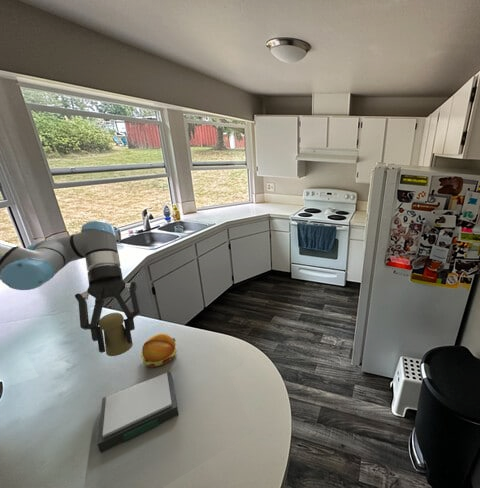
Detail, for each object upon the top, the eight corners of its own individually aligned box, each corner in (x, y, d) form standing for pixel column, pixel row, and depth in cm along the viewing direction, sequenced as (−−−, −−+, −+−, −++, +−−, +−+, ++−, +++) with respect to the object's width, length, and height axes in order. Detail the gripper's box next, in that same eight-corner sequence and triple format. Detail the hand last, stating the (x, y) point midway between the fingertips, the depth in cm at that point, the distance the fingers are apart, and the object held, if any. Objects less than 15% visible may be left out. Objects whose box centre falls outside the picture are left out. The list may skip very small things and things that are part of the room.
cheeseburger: (172, 341, 92) (170, 322, 87) (182, 363, 86) (180, 344, 81) (139, 355, 85) (135, 335, 80) (147, 379, 79) (143, 360, 74)
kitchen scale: (100, 455, 58) (95, 444, 56) (105, 405, 69) (101, 395, 67) (179, 416, 67) (176, 406, 65) (172, 378, 78) (170, 368, 76)
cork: (136, 346, 72) (128, 314, 68) (111, 359, 67) (100, 326, 64) (127, 337, 75) (118, 306, 71) (102, 350, 70) (91, 317, 66)
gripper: (143, 267, 82) (157, 336, 75) (66, 281, 72) (74, 363, 65) (140, 258, 76) (155, 331, 70) (56, 272, 66) (64, 360, 59)
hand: (116, 346), depth 67 cm, fingers closed on cork, 5 cm apart
